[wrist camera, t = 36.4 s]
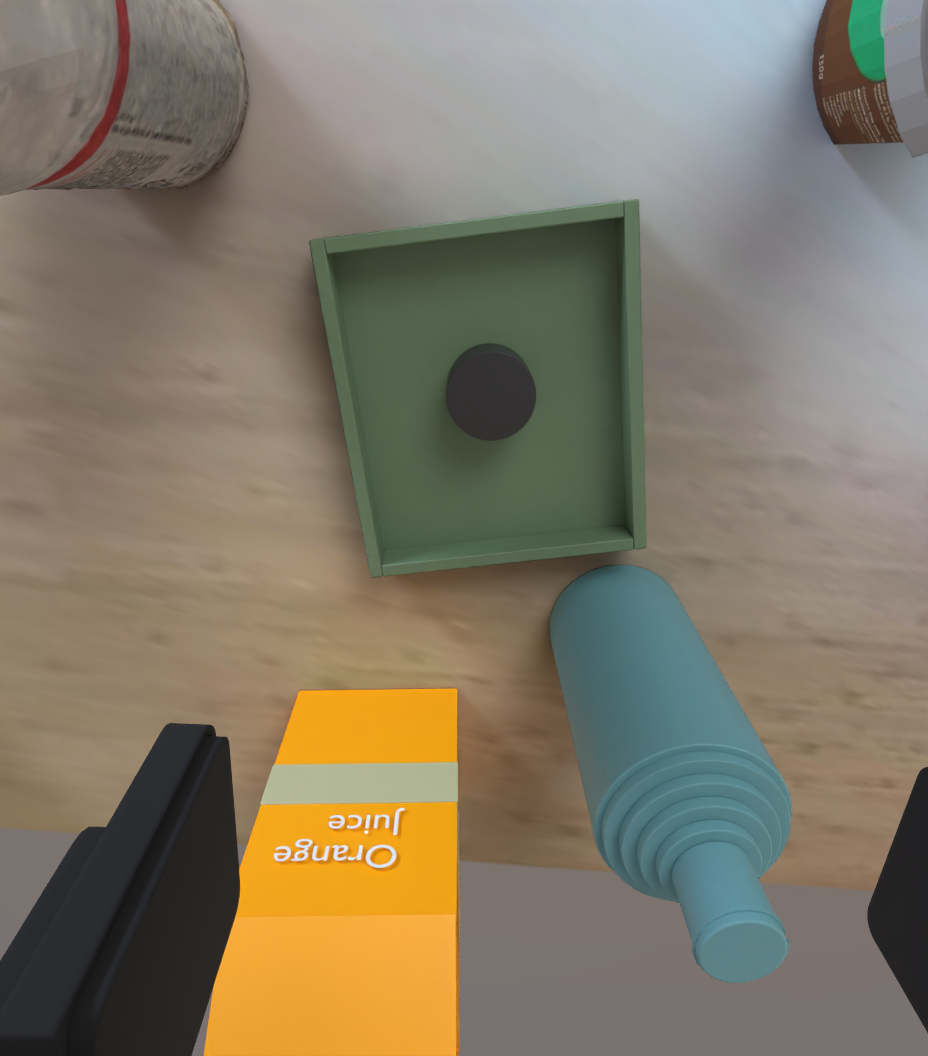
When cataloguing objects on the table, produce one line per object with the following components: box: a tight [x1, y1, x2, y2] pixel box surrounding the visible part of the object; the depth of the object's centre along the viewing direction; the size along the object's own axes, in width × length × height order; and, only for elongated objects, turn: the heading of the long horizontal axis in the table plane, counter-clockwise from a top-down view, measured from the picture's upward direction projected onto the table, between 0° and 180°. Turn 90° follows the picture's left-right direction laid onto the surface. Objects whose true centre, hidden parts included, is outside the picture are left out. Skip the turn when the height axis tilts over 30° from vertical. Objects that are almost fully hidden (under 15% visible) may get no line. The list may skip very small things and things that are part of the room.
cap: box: [446, 343, 536, 441], centre depth 33 cm, size 4×4×2 cm
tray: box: [309, 199, 646, 578], centre depth 33 cm, size 13×15×2 cm
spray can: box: [0, 0, 249, 195], centre depth 20 cm, size 8×8×20 cm
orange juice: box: [204, 689, 460, 1056], centre depth 33 cm, size 8×9×20 cm
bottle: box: [549, 565, 792, 983], centre depth 30 cm, size 7×7×19 cm
